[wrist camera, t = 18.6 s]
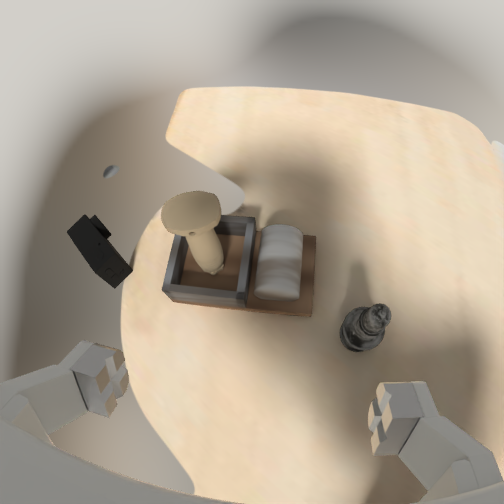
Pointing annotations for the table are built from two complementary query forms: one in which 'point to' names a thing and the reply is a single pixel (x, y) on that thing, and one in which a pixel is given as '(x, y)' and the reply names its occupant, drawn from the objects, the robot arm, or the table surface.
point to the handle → (196, 226)
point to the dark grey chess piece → (365, 327)
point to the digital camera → (99, 250)
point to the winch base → (247, 270)
